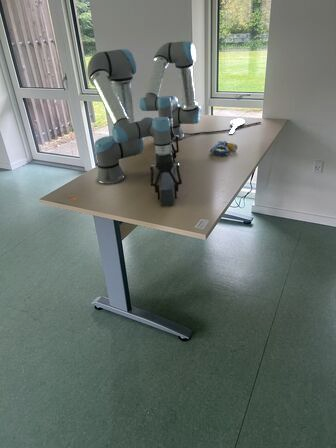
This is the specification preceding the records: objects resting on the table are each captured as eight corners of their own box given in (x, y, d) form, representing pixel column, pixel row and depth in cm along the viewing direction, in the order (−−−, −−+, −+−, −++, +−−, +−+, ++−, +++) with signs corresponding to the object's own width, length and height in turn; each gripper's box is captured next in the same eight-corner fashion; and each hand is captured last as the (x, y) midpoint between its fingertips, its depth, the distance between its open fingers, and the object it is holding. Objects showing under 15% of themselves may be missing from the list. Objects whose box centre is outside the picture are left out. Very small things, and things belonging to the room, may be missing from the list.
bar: (165, 161, 209) (164, 147, 205) (173, 160, 209) (172, 147, 204) (161, 206, 158) (160, 190, 154) (172, 205, 158) (171, 189, 154)
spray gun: (240, 146, 220) (218, 145, 226) (240, 140, 217) (218, 139, 224) (230, 158, 204) (207, 156, 211) (230, 151, 202) (207, 150, 208)
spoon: (237, 136, 244) (237, 133, 243) (223, 136, 248) (223, 133, 247) (246, 120, 270) (246, 118, 269) (232, 120, 274) (232, 117, 273)
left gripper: (140, 157, 149) (146, 202, 161) (186, 154, 148) (188, 200, 160) (141, 151, 155) (147, 195, 167) (185, 148, 154) (188, 193, 166)
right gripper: (149, 128, 188) (154, 167, 200) (182, 126, 187) (184, 165, 199) (150, 124, 195) (154, 162, 207) (182, 122, 193) (184, 160, 206)
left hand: (167, 197), depth 163 cm, fingers open, 8 cm apart
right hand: (169, 163), depth 203 cm, fingers closed on bar, 5 cm apart
